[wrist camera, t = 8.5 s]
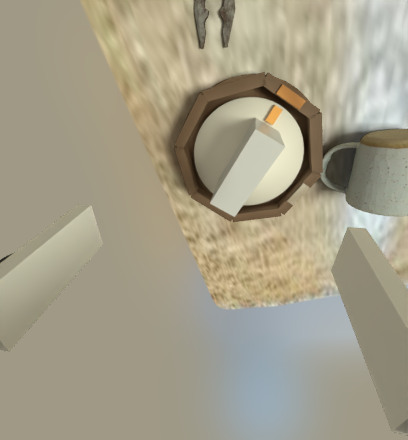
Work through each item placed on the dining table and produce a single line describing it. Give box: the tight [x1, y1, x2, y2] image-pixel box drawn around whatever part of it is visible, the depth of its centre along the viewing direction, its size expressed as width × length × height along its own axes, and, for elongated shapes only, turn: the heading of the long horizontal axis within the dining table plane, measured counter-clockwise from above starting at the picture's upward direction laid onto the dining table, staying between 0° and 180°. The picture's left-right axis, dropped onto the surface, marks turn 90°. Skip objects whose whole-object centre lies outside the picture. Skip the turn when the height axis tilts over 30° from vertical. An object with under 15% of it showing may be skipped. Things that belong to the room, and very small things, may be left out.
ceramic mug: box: [320, 129, 408, 216], centre depth 27 cm, size 11×8×8 cm
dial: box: [194, 97, 304, 217], centre depth 27 cm, size 14×14×8 cm
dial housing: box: [174, 72, 323, 222], centre depth 30 cm, size 18×18×4 cm
